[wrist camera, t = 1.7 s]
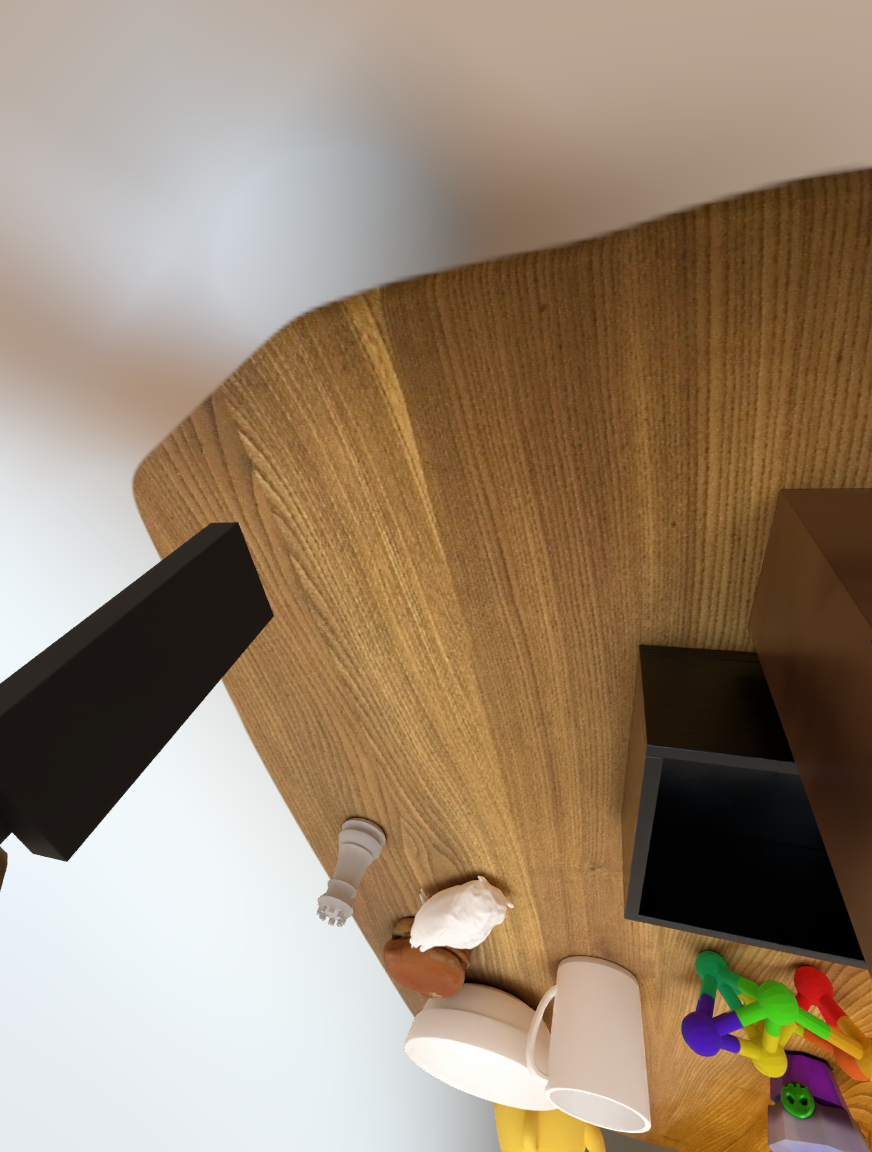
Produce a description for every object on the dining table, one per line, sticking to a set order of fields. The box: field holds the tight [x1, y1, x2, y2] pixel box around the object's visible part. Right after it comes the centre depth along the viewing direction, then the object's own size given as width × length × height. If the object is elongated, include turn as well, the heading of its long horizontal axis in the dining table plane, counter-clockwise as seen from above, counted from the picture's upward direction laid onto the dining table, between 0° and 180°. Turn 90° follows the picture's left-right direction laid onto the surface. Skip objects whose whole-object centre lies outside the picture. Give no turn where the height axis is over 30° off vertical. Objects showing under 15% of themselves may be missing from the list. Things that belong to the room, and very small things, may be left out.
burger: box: [384, 918, 471, 999], centre depth 58 cm, size 10×9×5 cm
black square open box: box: [621, 645, 868, 970], centre depth 30 cm, size 17×17×7 cm
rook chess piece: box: [317, 818, 386, 927], centre depth 47 cm, size 4×4×8 cm
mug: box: [525, 956, 651, 1133], centre depth 50 cm, size 11×9×10 cm
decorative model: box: [681, 951, 872, 1081], centre depth 43 cm, size 13×9×15 cm
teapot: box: [494, 1102, 606, 1152], centre depth 69 cm, size 14×14×12 cm
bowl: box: [405, 983, 557, 1111], centre depth 62 cm, size 18×18×7 cm
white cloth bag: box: [410, 876, 514, 952], centre depth 49 cm, size 5×7×10 cm
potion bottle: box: [768, 1051, 870, 1152], centre depth 48 cm, size 9×9×12 cm
